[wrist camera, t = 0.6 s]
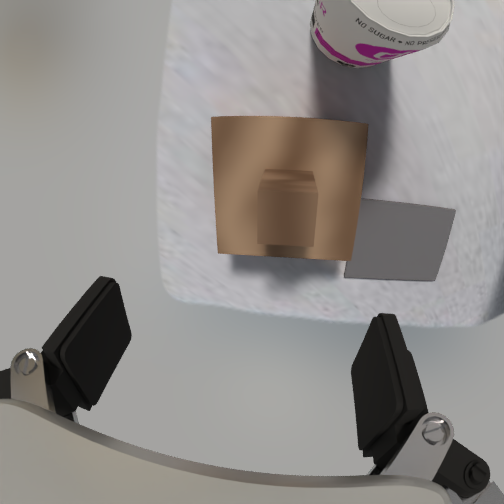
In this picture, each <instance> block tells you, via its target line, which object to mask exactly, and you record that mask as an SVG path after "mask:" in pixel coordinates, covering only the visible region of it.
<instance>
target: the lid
mask: <svg viewBox="0 0 504 504" xmlns="http://www.w3.org/2000/svg"><path fill="white" fill-rule="evenodd" d="M211 127H212V154H213V177H214V197H215V215H216V231H217V246H218V253H220V254H237V255H254V256H272V257H289V258H306V259H324V260H342V261H351V258H352V253H353V247H354V241H355V235H356V229H357V223H358V216H359V209H360V202H361V194H362V186H363V178H364V169H365V159H366V148H367V136H368V124H366V123H358V122H349V121H340V120H329V119H317V118H302V117H280V116H220V117H211Z"/></svg>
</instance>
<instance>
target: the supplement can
mask: <svg viewBox="0 0 504 504" xmlns="http://www.w3.org/2000/svg"><path fill="white" fill-rule="evenodd" d="M453 11H454V1H453V0H316V2H315V6H314V10H313V14H312V18H311V21H310V27H311V35H312V38H313V40H314V41H315V43H316V45H317V47H318V49H319V50H321V51H322V52H323V53H324V54H325V55H326V56H327V57H328V58H329V59H331V60H333V61H335V62H336V63H338V64H340V65H342V66H347V67H352V68H364V67H371V66H374V65H376V64H379V63H382V62H385V61H388V60H391V59H394V58H397V57H400V56H404V55H407V54H410V53H413V52H417V51H420V50H423V49H425V48H428V47H430V46H432V45H435V44H437V43H439V42H440V40H441V39H442V38H443V37H444V35H445V34H446V33H447V32H448V30H449V25H450V22H451V20H452V16H453Z"/></svg>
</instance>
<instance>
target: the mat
mask: <svg viewBox="0 0 504 504" xmlns="http://www.w3.org/2000/svg"><path fill="white" fill-rule="evenodd" d="M455 212H456V210H454V209H448V208H441V207H434V206H426V205H418V204H410V203H401V202H392V201H383V200H373V199H362V198H361V202H360V209H359V216H358V223H357V229H356V235H355V241H354V247H353V253H352V258H351V261H347V262H346V268H345V273H344V277H351V278H373V279H397V280H425V281H435V279H436V277H437V274H438V271H439V268H440V265H441V262H442V258H443V255H444V252H445V249H446V245H447V242H448V239H449V235H450V231H451V228H452V224H453V220H454V216H455Z"/></svg>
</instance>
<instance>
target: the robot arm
mask: <svg viewBox="0 0 504 504" xmlns="http://www.w3.org/2000/svg"><path fill="white" fill-rule="evenodd" d="M130 340H131V330H130V326H129V323H128V319H127V315H126V311H125V307H124V303H123V299H122V295H121V291H120V286H119V284H118V283H116V281H115V279H113V278H109V277H103V276H100V277H99V278H98V279H97V280H96V281H95V282H94V283H93V284H92V285H91V287H90V288H89V289H88V290H87V291H86V292H85V294H84V295H83V296H82V297H81V299H80V300H79V301H78V302H77V303H76V304H75V306H74V307H73V308H72V309H71V311H70V312H69V313H68V314H67V315H66V317H65V318H64V319H63V320H62V322H61V323H60V324H59V326H58V327H57V328H56V329H55V331H54V332H53V333H52V335H51V336H50V337H49V339H48V340H47V341H46V342H45V344H44V345H43V347H42V349H43V351H42V352H41V353H40V352H39V351H37V350H36V349H32V348H29V349H24V350H22V351H20V352H19V353H17V354H16V355H15V357H14V358H13V360H12V362H11V368H9V369H6V370H3V371H0V504H504V495H503V493H502V492H501V491H500V489H499V488H498V486H497V485H496V484H495V482H491V483H490V481H489V479H490V470H489V466H488V465H487V463H486V462H485V461H484V460H483V459H481V458H480V457H478V456H477V455H476V454H474V453H472V452H471V451H470V450H468V449H467V448H466V447H464V446H463V445H461V444H460V443H458V442H457V441H456V440H454V439H453V437H454V429H453V426H452V423H451V422H450V420H449V419H448V418H446V416H444V415H442V414H440V413H435V412H432V413H428V409H427V405H426V401H425V397H424V394H423V390H422V387H421V383H420V380H419V376H418V373H417V370H416V366H415V363H414V360H413V357H412V354H411V352H409V351H408V350H407V347H406V344H405V341H404V338H403V335H402V332H401V329H400V326H399V324H398V321H397V318H396V316H395V315H394V314H385V313H379V314H378V316H377V317H373V319H372V321H371V323H370V326H369V329H368V331H367V333H366V335H365V338H364V340H363V342H362V345H361V347H360V349H359V351H358V354H357V356H356V358H355V360H354V362H353V364H352V368H351V376H352V384H353V393H354V403H355V413H356V424H357V436H358V447H359V450H363V457H373V459H374V464H375V465H374V466H373V468H372V469H371V470H370V471H369V473H368V474H367V475H360V476H298V475H297V476H296V475H281V474H269V473H259V472H251V471H243V470H236V469H230V468H224V467H218V466H213V465H207V464H202V463H198V462H193V461H188V460H184V459H180V458H176V457H172V456H168V455H165V454H161V453H158V452H154V451H151V450H147V449H144V448H141V447H138V446H135V445H132V444H129V443H126V442H123V441H120V440H117V439H114V438H112V437H109V436H106V435H104V434H102V433H99V432H97V431H94V430H92V429H89V428H87V427H84V426H82V425H80V424H79V422H78V418H77V415H76V409H77V407H78V406H79V407H81V408H83V409H86V410H88V411H90V409H91V407H92V405H93V406H94V405H96V404H97V402H98V400H99V398H100V396H101V394H102V392H103V390H104V389H105V387H106V385H107V383H108V381H109V379H110V377H111V375H112V374H113V372H114V370H115V368H116V366H117V364H118V363H119V361H120V359H121V357H122V355H123V353H124V352H125V350H126V348H127V346H128V344H129V343H130Z"/></svg>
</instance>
